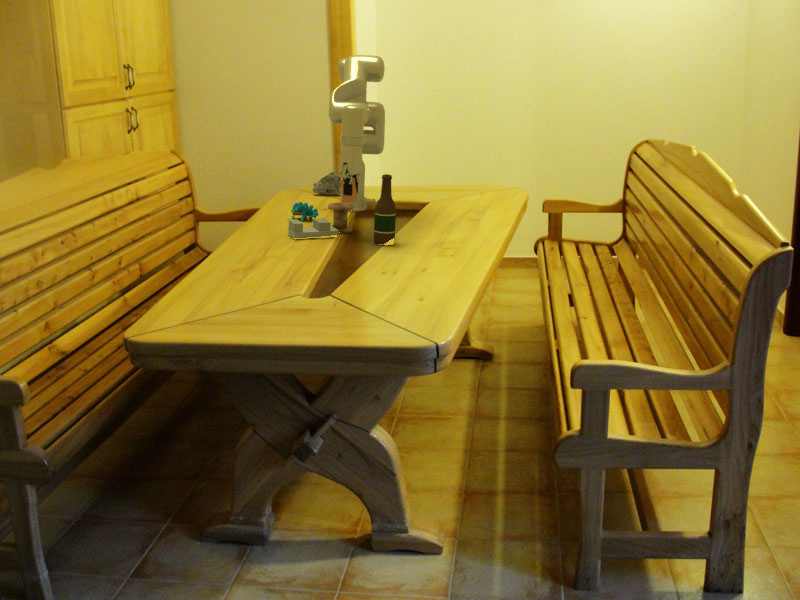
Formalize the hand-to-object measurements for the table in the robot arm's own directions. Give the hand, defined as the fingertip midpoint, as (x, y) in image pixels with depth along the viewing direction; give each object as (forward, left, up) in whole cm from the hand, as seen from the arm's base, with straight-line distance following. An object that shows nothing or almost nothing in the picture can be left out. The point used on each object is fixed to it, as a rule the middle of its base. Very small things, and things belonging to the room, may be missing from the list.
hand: (350, 193), depth 342 cm
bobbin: (0, -10, -16) cm, 18 cm away
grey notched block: (+12, -4, -16) cm, 20 cm away
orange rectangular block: (0, 0, -3) cm, 3 cm away
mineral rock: (-17, -73, -16) cm, 77 cm away
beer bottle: (-9, +11, -16) cm, 21 cm away
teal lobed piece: (+8, -29, -16) cm, 34 cm away
